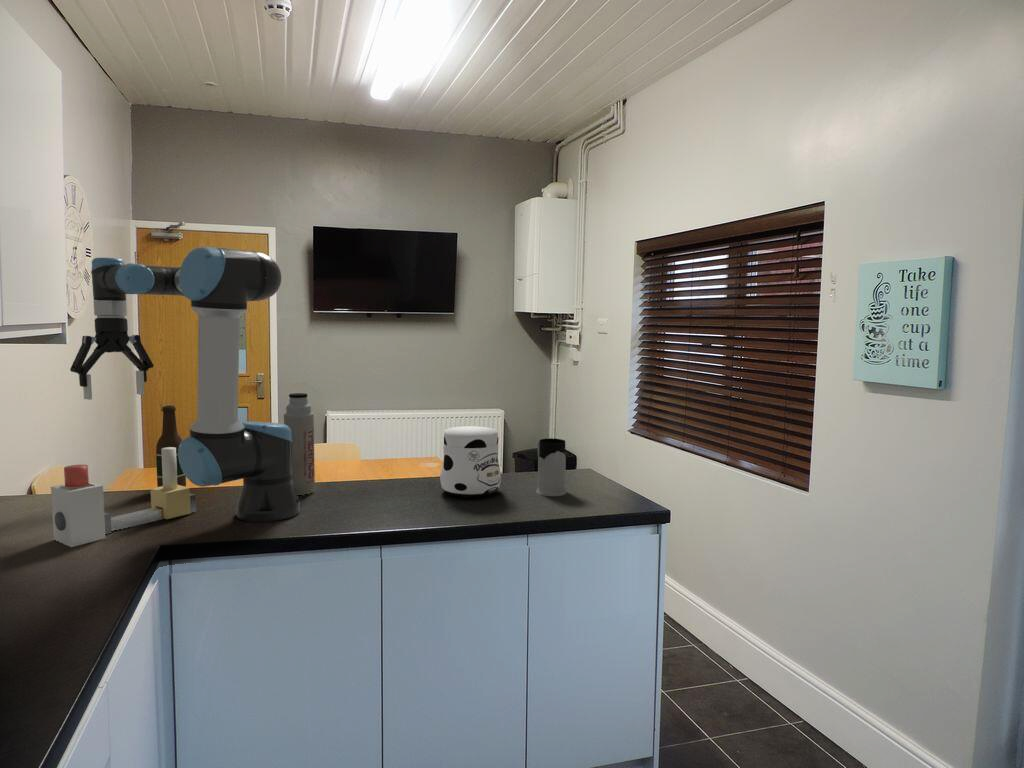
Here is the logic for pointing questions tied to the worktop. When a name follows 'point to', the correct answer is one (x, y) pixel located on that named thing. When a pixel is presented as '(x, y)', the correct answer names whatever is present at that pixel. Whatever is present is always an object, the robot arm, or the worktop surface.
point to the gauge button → (76, 475)
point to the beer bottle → (169, 444)
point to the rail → (139, 517)
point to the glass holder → (551, 467)
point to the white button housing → (78, 514)
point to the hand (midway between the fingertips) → (115, 396)
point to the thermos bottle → (301, 442)
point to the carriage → (170, 488)
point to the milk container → (470, 461)
